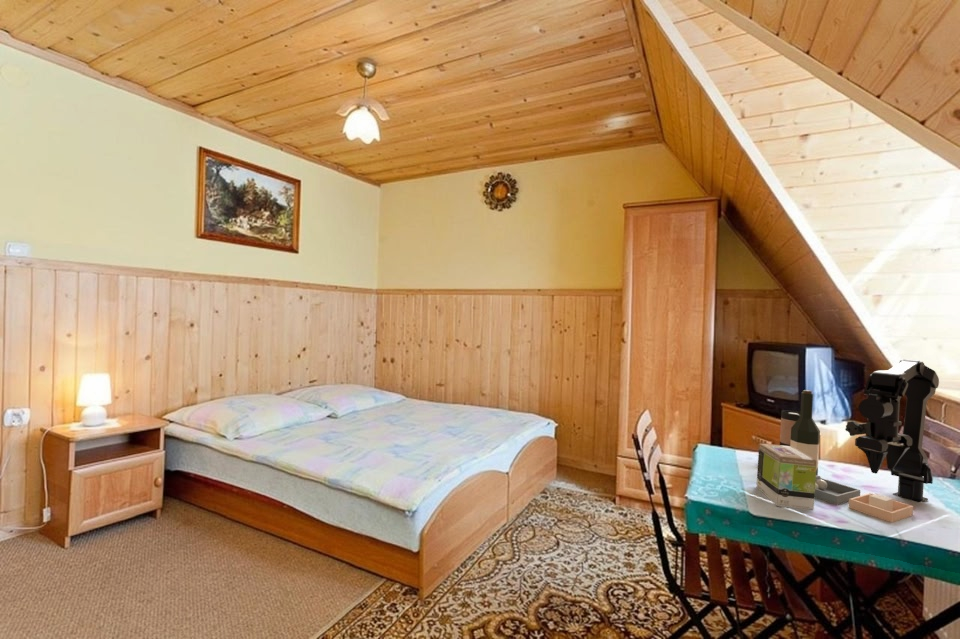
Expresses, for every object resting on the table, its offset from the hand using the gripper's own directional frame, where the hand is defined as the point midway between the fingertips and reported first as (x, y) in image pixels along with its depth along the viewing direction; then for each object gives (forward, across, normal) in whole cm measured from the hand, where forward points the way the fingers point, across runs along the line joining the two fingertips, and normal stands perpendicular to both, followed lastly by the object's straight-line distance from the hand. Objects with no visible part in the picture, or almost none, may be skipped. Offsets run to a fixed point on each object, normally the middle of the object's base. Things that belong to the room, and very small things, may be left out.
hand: (882, 471), depth 131 cm
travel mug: (+12, -19, -35) cm, 42 cm away
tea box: (+12, +17, -17) cm, 27 cm away
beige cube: (+11, 0, 0) cm, 11 cm away
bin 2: (+12, 0, 0) cm, 12 cm away
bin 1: (+12, +1, -18) cm, 22 cm away
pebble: (+11, +3, -16) cm, 20 cm away
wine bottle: (+12, -10, -26) cm, 30 cm away
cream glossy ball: (+11, -2, -16) cm, 20 cm away
